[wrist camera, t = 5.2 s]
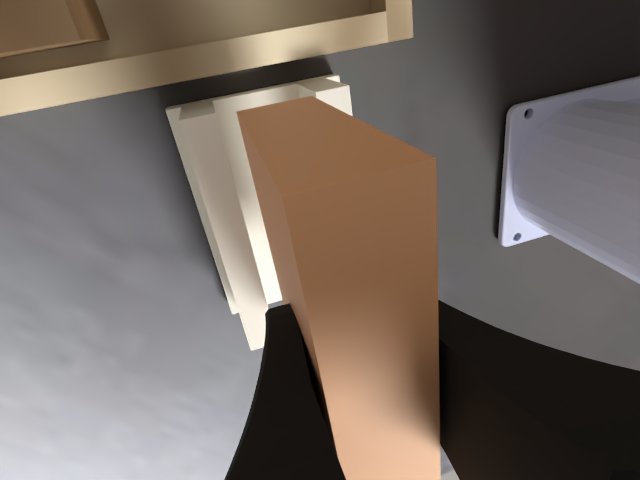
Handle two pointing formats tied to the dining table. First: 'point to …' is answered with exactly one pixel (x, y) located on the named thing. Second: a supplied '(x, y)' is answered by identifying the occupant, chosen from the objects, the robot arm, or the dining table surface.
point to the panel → (356, 277)
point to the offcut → (48, 25)
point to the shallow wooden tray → (194, 45)
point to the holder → (238, 190)
